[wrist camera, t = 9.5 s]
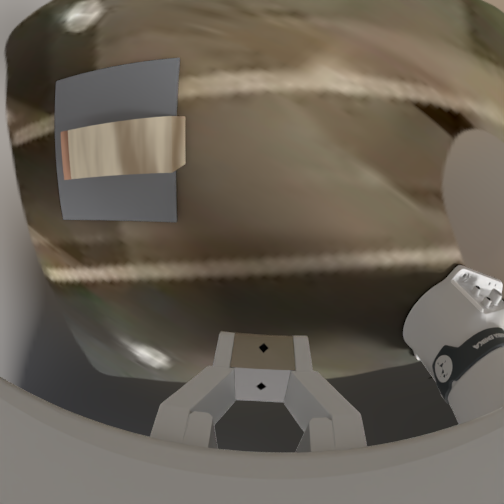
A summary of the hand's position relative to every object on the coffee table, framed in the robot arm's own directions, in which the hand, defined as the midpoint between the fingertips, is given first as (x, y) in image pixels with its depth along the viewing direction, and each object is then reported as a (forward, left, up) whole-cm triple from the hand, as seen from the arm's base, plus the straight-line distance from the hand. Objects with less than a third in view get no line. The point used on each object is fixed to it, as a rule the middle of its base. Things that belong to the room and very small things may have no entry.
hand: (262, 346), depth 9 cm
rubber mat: (+17, -5, -22) cm, 28 cm away
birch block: (+8, -5, -19) cm, 21 cm away
